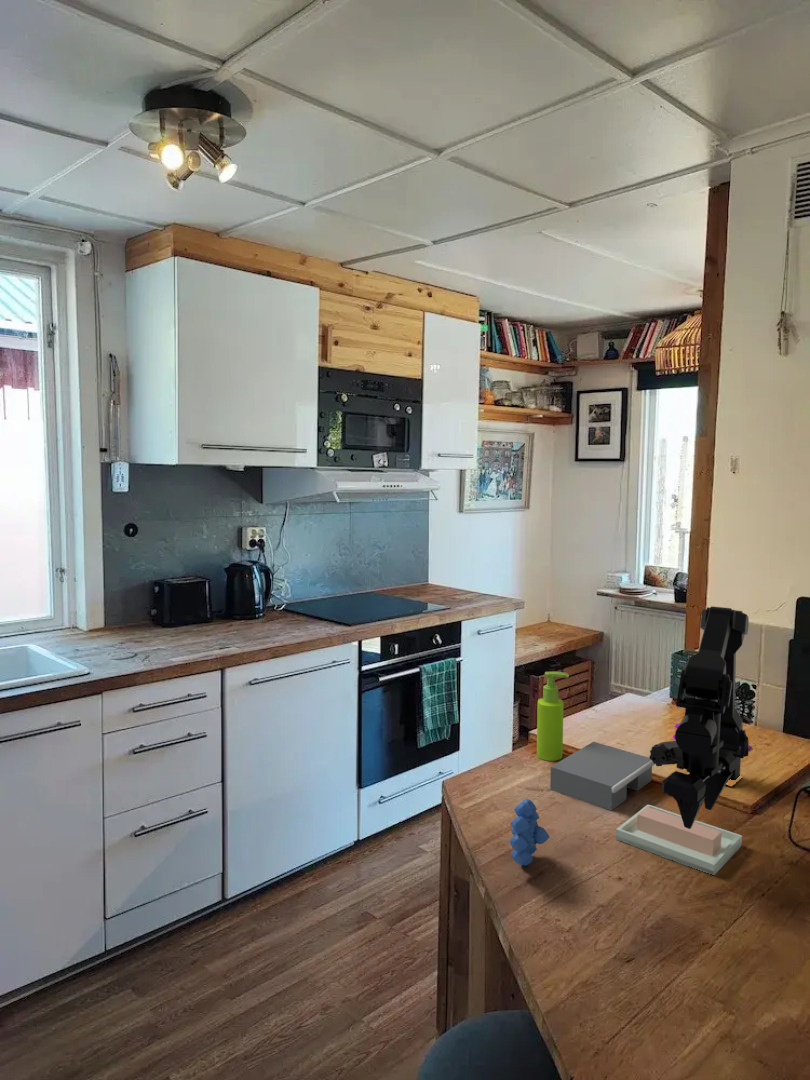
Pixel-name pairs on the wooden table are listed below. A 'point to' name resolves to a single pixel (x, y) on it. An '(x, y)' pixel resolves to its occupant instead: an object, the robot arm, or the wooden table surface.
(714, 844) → the pink bar in dish
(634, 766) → the block
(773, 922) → the wooden table surface
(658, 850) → the tray
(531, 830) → the grapes
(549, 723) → the soap dispenser
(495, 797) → the wooden table surface
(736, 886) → the wooden table surface
